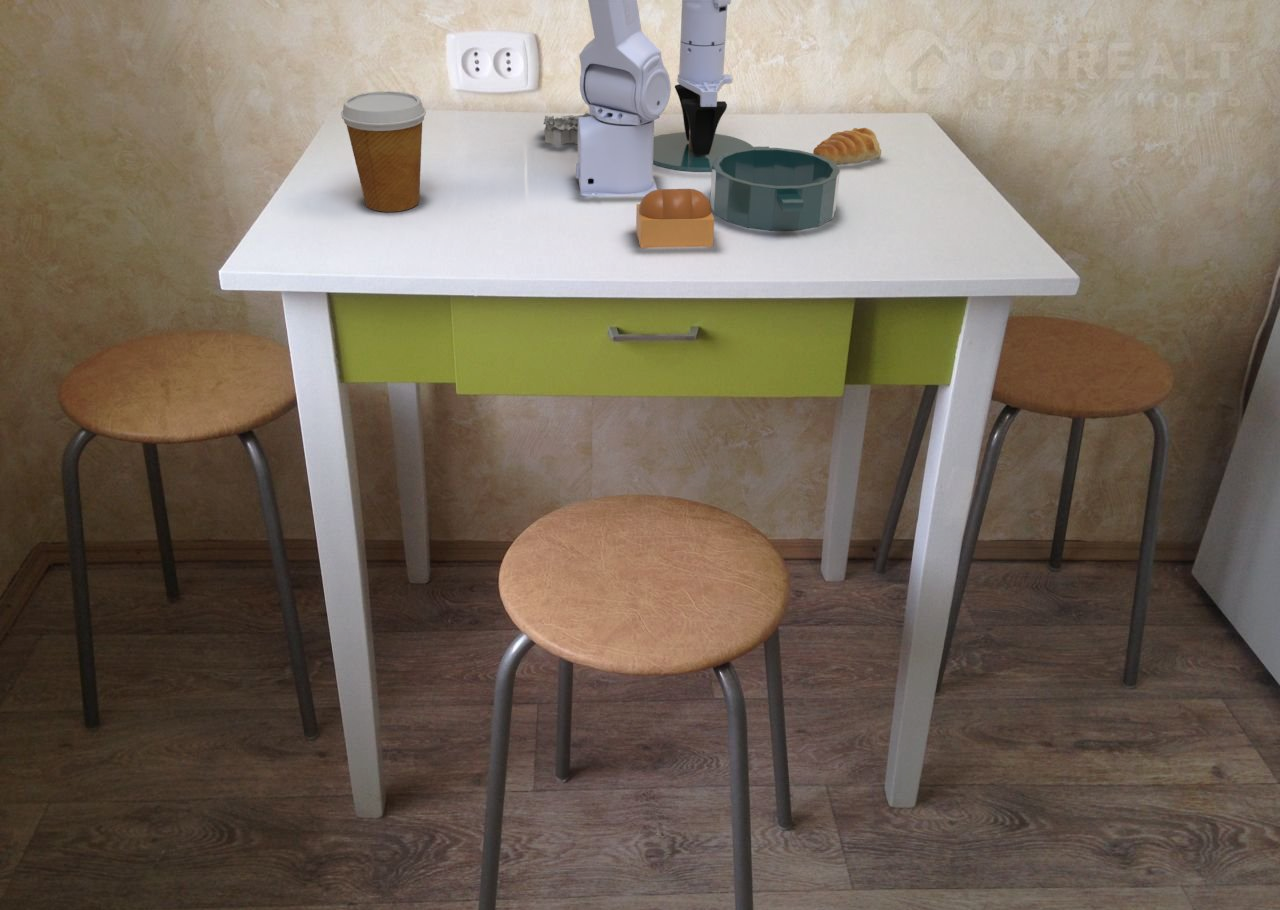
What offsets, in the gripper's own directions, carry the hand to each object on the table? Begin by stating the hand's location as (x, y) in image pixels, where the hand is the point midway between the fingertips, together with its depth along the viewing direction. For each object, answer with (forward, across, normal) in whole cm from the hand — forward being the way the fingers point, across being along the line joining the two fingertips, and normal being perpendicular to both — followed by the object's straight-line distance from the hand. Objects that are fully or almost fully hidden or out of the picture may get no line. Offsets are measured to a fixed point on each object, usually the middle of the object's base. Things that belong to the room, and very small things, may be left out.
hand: (697, 146), depth 152 cm
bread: (+1, -30, +7) cm, 31 cm away
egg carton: (+2, +7, +15) cm, 17 cm away
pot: (+1, -21, -6) cm, 22 cm away
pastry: (+2, -2, -20) cm, 20 cm away
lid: (+1, 0, 0) cm, 1 cm away
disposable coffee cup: (+2, -16, +39) cm, 42 cm away
